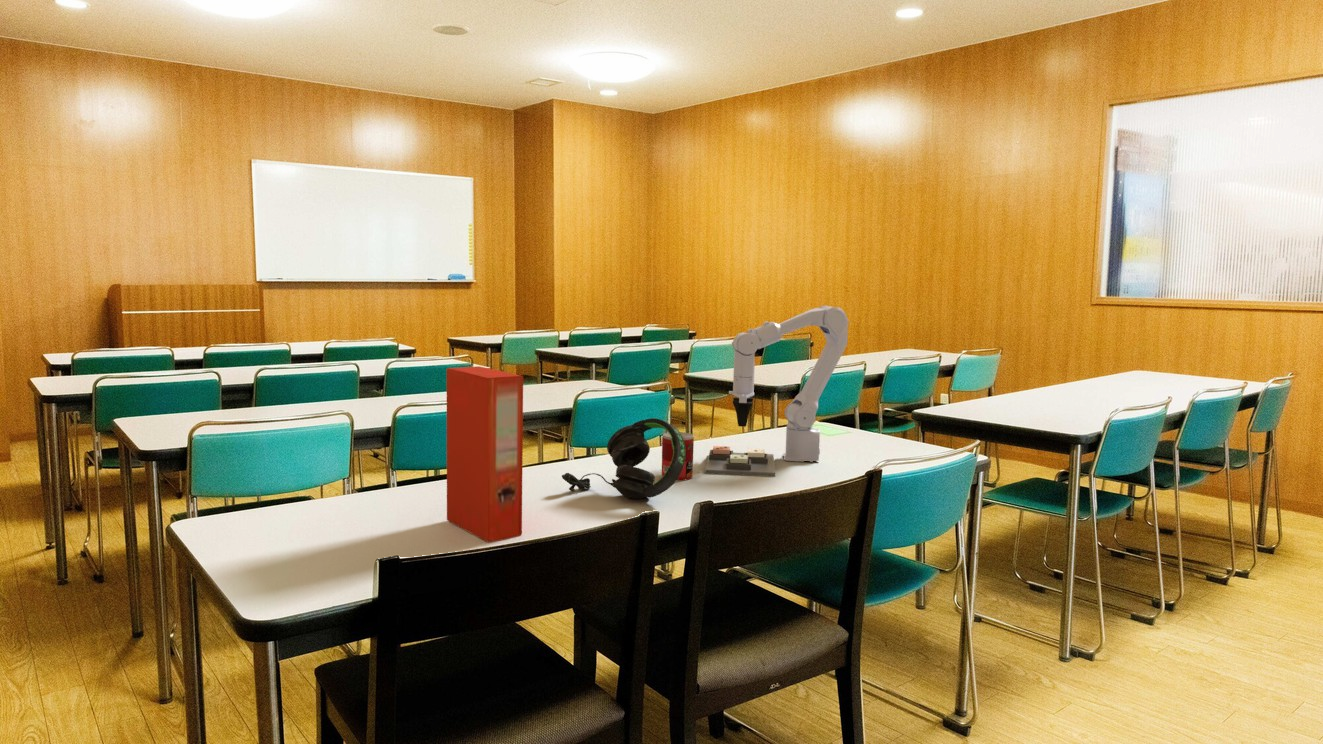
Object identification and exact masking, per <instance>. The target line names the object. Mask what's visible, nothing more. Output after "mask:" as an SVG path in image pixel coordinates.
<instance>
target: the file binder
mask: <svg viewBox="0 0 1323 744" xmlns="http://www.w3.org/2000/svg"><path fill="white" fill-rule="evenodd" d="M523 421H524V375H520V374H515V373H511V372H507V371H502V370H497V369H494V368H493V369H492V368H490V367H489V368H488V367H483V366H480V365H479V366H466V367H463V366H461V367H447V368H446V520H447V521H448V522H450V523H452V524H454V525H456V526H457V527H459V528H461V529H462V530H465V531H467V532H468V533H470V534H471V535H474V536H476V537H477V538H479V539H481V540H482V541H484V542H488V543H493V542H498V541H500V540H507V539H513V538H517V537H521V536H522V533H523V460H524V459H523V447H524V446H523V444H524V443H523V442H524V441H523V440H524V437H523V436H524V433H523V432H524V430H523V429H524V424H523V423H524V422H523Z"/></svg>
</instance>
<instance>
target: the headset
mask: <svg viewBox="0 0 1323 744" xmlns="http://www.w3.org/2000/svg"><path fill="white" fill-rule="evenodd" d="M652 429H663V430H664V431H666V433H669V434H670V436H671V437H672V438H671V441H672V448H673V450H674V451H673V458H672V461H671V464H670V466H669V468H668V470H667V472H666V473H665V474H664V476H661V478H659V480H657V481H655V480H656V476H655V475H654V473H652V472H651V471H648V470H646V469H643V468H639V467H636V466H638V465H639V464H641V463H642V462H644V461H645V459H647V457H648V456H649V454H650V450H651V449H650V445H649V442H648V441H647V440H646V438H645V432H646V431H650V430H652ZM680 432H681V431H680V430H679V429H678V428H677V427H676V426H674V425H672V424H670V423H669V422H667V421H665V420H662V419H660V418H653V417H651V418H647V419H646V418H645V419H642V420H638V421H636V422H634V423H633V424H631V425H626V426H623V427H622V428H620V429H618V430H617V431H615V432H614V433H613V434H612V435H611V437H609V440H608V441H607V443H606V449H607V453H608V455H609V456H610V457H611V460H612V462H613V464H614V465H615V467H616V471H615V477H616V478H617V479H614V478H612V479H611V482H609V481H607V480H606V478H604V476H603V475H602V474H599V473H596V472H593V473H587V474H584V475H583V476H581V478H580V479H579V478H577V477H576V476H575V475H573V474H571V473H569V472H566V473H564V474H562V475H561V478H562V479H563V480H564V481H565V482H567V483H568V485H571V486H569V488H568V490H569V491H570V492H572V493H574V494H575V495H578V493H577V492H576V490H575V487H577V488H578V489H579V490H580V491H583V490H585V489H588V490H589V489H590V488H592V486H591V479H590V478H588V476H591V475H596V476H598V477H601V479H603V481H604V482H606V484H607V485H610V486H612V487H613V488H615V489H616V491H618V492H619V493H620V494H621V495H622V496H623V497H624V498H628V499H632V500H640V499H643V498H654V497H657V496H658V495H661V494H662V493H665V492H666V491H667V490H670V488H671V487H672V486H673V485H674V484H675V482H677V481H678V480H677V479H678V477H679V475H680V474H681V471H682V469H683V466H684V463H685V456H686V449H685V443H684V440H683V437H682V435H681V433H680ZM584 477H587V478H584ZM583 478H584V479H583Z"/></svg>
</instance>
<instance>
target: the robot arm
mask: <svg viewBox="0 0 1323 744" xmlns="http://www.w3.org/2000/svg"><path fill="white" fill-rule="evenodd" d="M849 324H850V320H849V318H848V316H847V314H846V312H845V310H843V309H842V308H841V307H837V306H836V307H835V306H829V305H821V306H819V307H815V308H811V309H809V310H807V311H806V310H805V311H804V312H802V313H800V314H798V315H795V316H792V317H791V318H789V319H786V320H784V321H782V322H780V323H777V322H775V321H770V322H769V321H768V320H766V321H764V322H763V324H762V325H760V326H758V327H755V328H748V329H747V332H740V333H739V332H738V333H737V334H736V335H735V336H734V338H733V341H732V342H731V347H732V348H733V350H734V357H733V358H734V359H733V378H732V379H733V380H732V381H733V382H732V383H733V384H732V390H729V391H728V394H729V395H732V396H735V397H732V404H733V407H734V409H735V410H734V411H735V413H736V420H737V426H738V427H744V428H745V427H746V426H747V423H748V419H749V415H750V411H751V409H752V408H753V407H752V406H753V404H754V402H753V401H754V396H755V392H754V390H755V366H756V365H755V353H756V352H757V350H760V349H762V348H765V347H768V346H769V345H772V344H775V343H777V342H780V341H781V340H782V337H783V335H786V334H789V333H791V332H794V331H797V330H799V329H802V328H805V327H808V326H815V327H818V328H819V329H820V330H821V331H822V333H823V335H824V337H825V340H826V344H825V345H824V347H823V350H822V351H821V353H820V355H819V357H818V359H817V361H816V363H815V364H814V366H813V368H812V370H811V372H810V374H809V376H808V378H807V380H806V382H805V383H804V386H803V388H802V390H801V391H800V392H799V393H798V394H797V395H795V397H794V399H793V400H792V401H791V402H790V403H789V404H788V405H787V406H786V407H785V410H784V416H785V419H786V420H787V424H786V429H785V430H786V431H785V453H783V460H784V461H786V462H804V461H810V462H809V463H814V462H813V461H816V462H815V463H818V462H817V461H819V462H820V452H821V451H820V450H821V449H820V442H821V441H820V437H821V434H820V432H821V431H820V429H819V428H813V425H814V424H815V422H816V416H817V415H816V414H817V411H818V410H819V399H820V397H821V395H822V393H823V392H824V389H825V388H826V386H827V384H828V382H829V380H830V378H831V376H832V375H833V372H834V370H835V368H836V367H837V365H838V363H839V362H840V360H841V358H842V356H843V354H844V352H845V350H846V347H847V346H848V339H849V338H848V325H849Z"/></svg>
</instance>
